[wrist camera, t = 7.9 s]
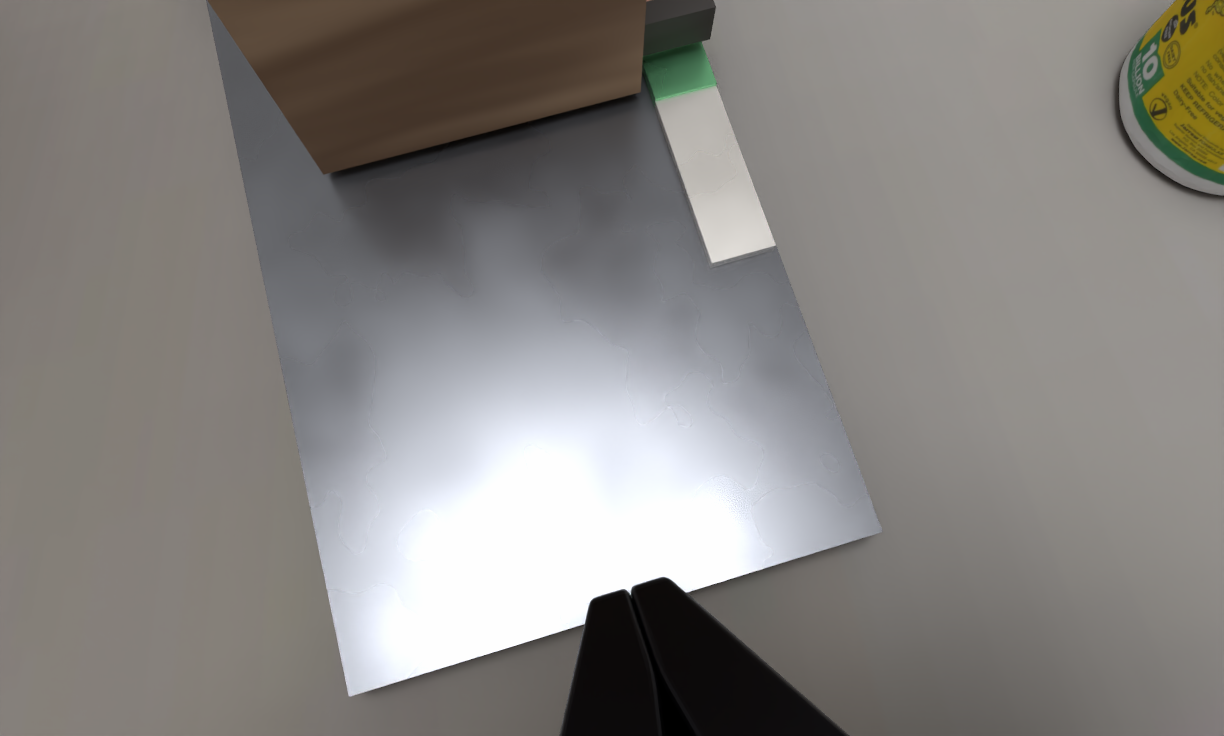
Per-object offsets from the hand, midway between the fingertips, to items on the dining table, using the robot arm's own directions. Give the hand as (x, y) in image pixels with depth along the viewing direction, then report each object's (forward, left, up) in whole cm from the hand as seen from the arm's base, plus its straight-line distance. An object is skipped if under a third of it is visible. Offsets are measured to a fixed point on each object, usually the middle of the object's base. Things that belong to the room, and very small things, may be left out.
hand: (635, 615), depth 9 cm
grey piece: (+10, -3, -11) cm, 15 cm away
